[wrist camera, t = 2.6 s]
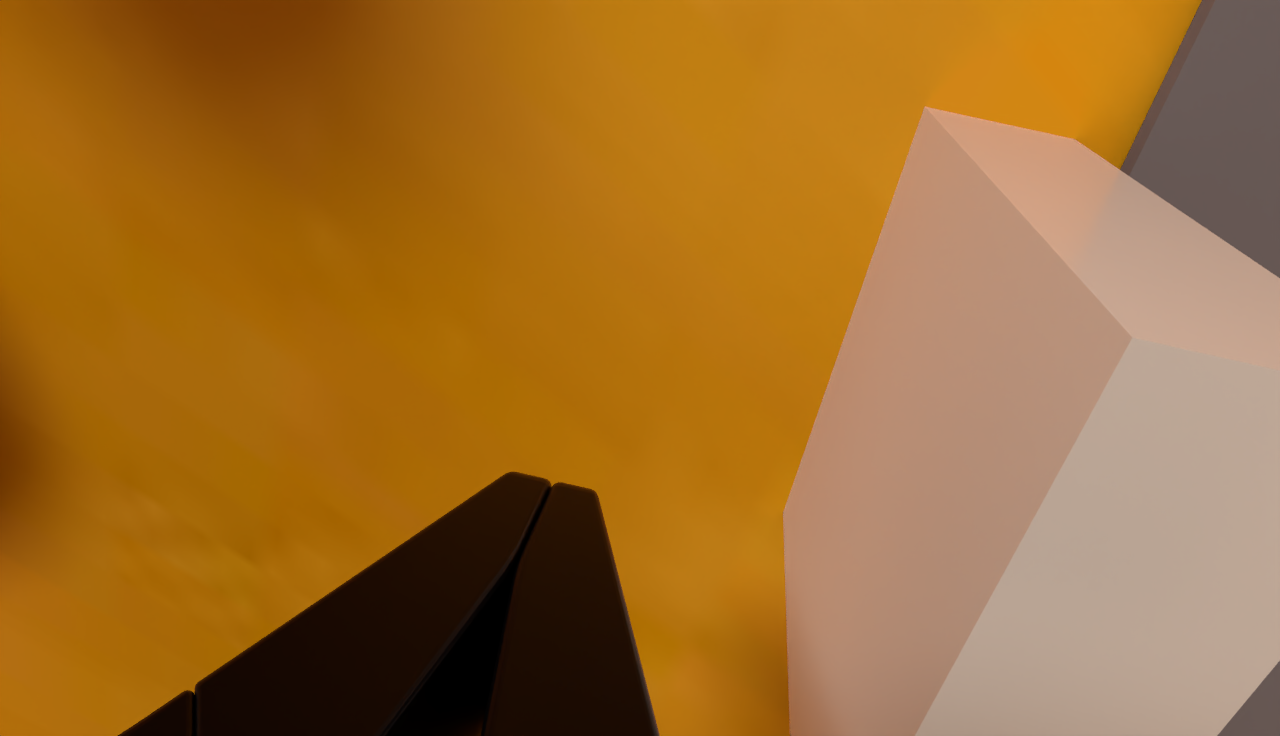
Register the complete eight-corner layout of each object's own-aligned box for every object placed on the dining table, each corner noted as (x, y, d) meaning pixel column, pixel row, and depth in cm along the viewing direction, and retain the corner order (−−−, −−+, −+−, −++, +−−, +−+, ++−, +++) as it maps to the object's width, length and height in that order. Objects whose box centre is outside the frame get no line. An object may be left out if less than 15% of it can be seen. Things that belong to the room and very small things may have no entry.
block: (899, 539, 14) (1000, 1003, 8) (783, 511, 14) (796, 952, 8) (1077, 139, 11) (1491, 417, 5) (924, 106, 11) (1131, 338, 5)
